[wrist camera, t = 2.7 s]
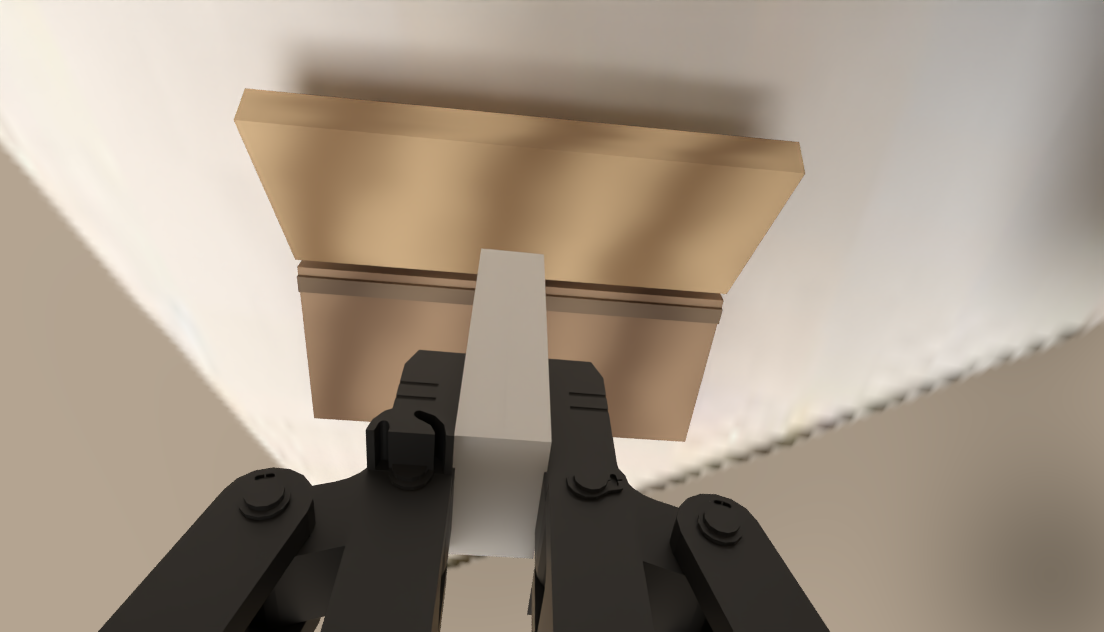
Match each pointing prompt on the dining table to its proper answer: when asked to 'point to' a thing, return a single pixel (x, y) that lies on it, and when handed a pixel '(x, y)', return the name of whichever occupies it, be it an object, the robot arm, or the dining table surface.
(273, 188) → the oak plank
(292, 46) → the dining table surface
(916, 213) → the dining table surface
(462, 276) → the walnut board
